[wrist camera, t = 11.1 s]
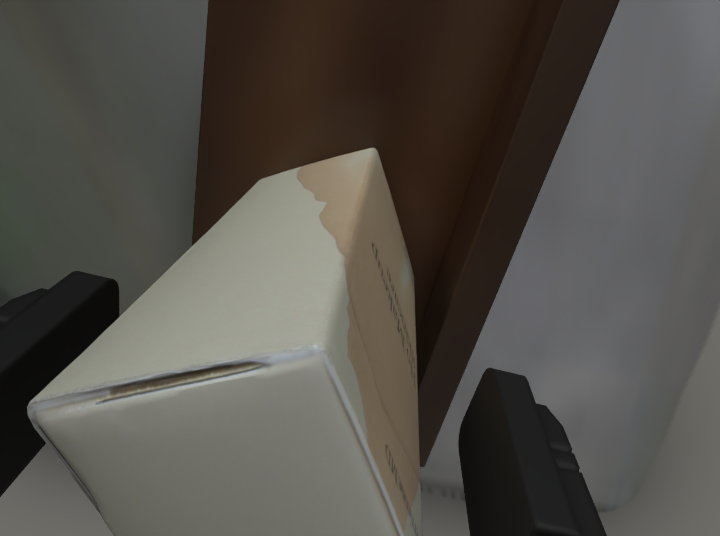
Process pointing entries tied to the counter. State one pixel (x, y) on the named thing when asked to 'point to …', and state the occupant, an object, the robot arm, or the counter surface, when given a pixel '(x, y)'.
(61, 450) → the box
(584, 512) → the robot arm
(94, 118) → the counter surface
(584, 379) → the counter surface
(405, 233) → the shelf
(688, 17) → the counter surface
